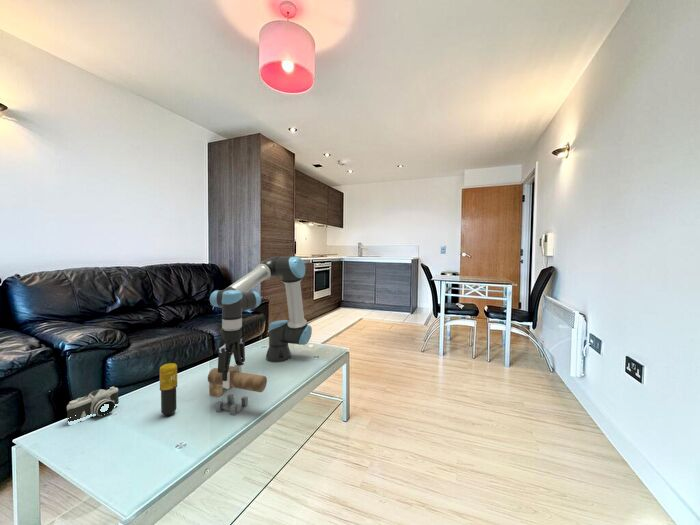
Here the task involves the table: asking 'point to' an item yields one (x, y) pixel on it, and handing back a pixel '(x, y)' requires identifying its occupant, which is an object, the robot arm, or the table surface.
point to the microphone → (168, 388)
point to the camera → (92, 403)
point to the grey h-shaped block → (231, 405)
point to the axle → (239, 380)
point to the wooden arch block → (217, 387)
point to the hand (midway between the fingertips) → (232, 384)
